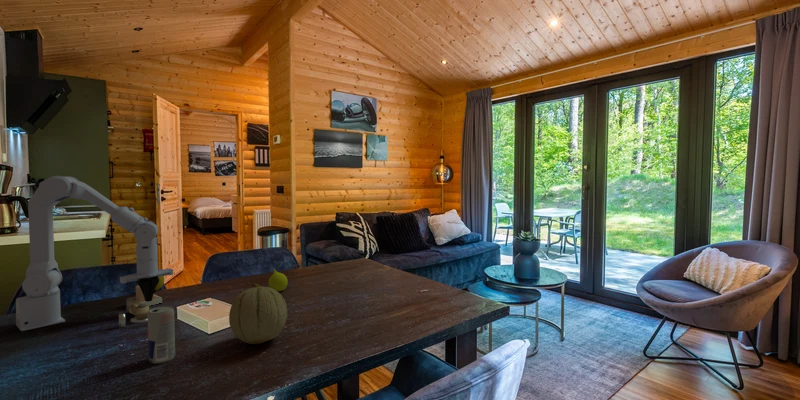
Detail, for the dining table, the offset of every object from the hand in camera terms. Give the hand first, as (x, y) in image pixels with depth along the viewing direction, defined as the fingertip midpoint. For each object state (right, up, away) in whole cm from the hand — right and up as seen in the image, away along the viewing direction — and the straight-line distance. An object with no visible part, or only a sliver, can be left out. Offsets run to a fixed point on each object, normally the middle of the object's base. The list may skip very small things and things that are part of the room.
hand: (148, 300), depth 123 cm
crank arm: (0, -3, -5) cm, 6 cm away
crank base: (+2, -4, -9) cm, 10 cm away
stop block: (-6, -3, +7) cm, 10 cm away
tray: (-6, -3, +7) cm, 10 cm away
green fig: (+35, -3, +24) cm, 42 cm away
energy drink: (+25, -5, -33) cm, 42 cm away
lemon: (-12, -3, +23) cm, 27 cm away
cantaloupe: (+44, -5, -22) cm, 50 cm away
